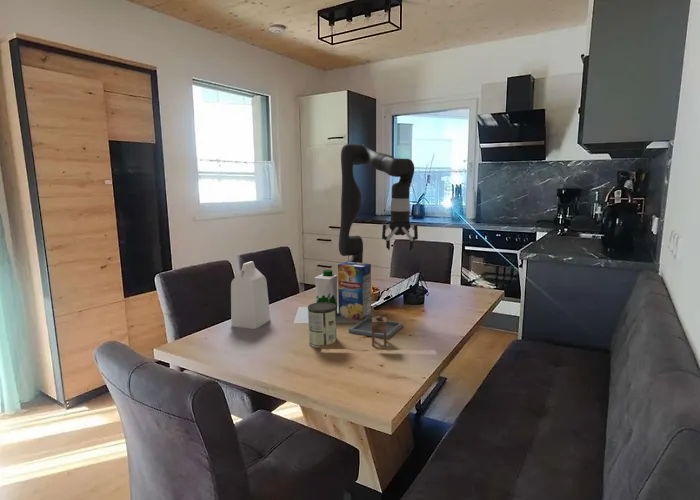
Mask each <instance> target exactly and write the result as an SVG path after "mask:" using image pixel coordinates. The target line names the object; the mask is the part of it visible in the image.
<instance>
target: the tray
mask: <svg viewBox="0 0 700 500" xmlns="http://www.w3.org/2000/svg"><path fill="white" fill-rule="evenodd" d="M403 326H404V325H403V322H400V321H395V320H389V319H388V320H387V319H386V340H388V339H390V338H391V336H393V335H394V334H395V333H397V331H399V329H401V328H402V327H403ZM348 333H350V334H353V335H354V334H356V335H362V336H367V337H372V317H366V318H365V319H363V320H359V322H358V323H355V324H354V325H353V326H351V327H350V328H348ZM375 338H377V339H378V338H379V339H383V340H384V333H375Z"/></svg>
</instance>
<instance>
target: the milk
mask: <svg viewBox="0 0 700 500" xmlns="http://www.w3.org/2000/svg"><path fill="white" fill-rule="evenodd" d="M267 283H268V282H267V278H266V276H265V275H264V274H262V273H261V271H259V269H257V268H256V266H255V263H254V261H251V260H250V261H248V262H244V263H243V264H242V267H241V271H239V273H238V274H237V275H236V276H235V277H234V278H233V279H232V280H231V284H230V315H231V316H230V318H231V320H230V323H231V324H230V325H231V327H235V328H244V329H251V330H257V329H258V328H260V327H261V326H263V325H264V324H266V323H268V322H270V321H271V311H270V301H269V291H268V285H267Z"/></svg>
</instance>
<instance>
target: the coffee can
mask: <svg viewBox="0 0 700 500" xmlns="http://www.w3.org/2000/svg"><path fill="white" fill-rule="evenodd" d="M307 312H308V313H307V315H308V316H307V317H308V344H309V346H311V347H313V348H317V349H318V348H320V346H328V345H331V344H334V343H335V342H337V313H336V305H335V304H333V303H328V302H319V303H316V302H314V303H311V304H309V305H308V306H307Z"/></svg>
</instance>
